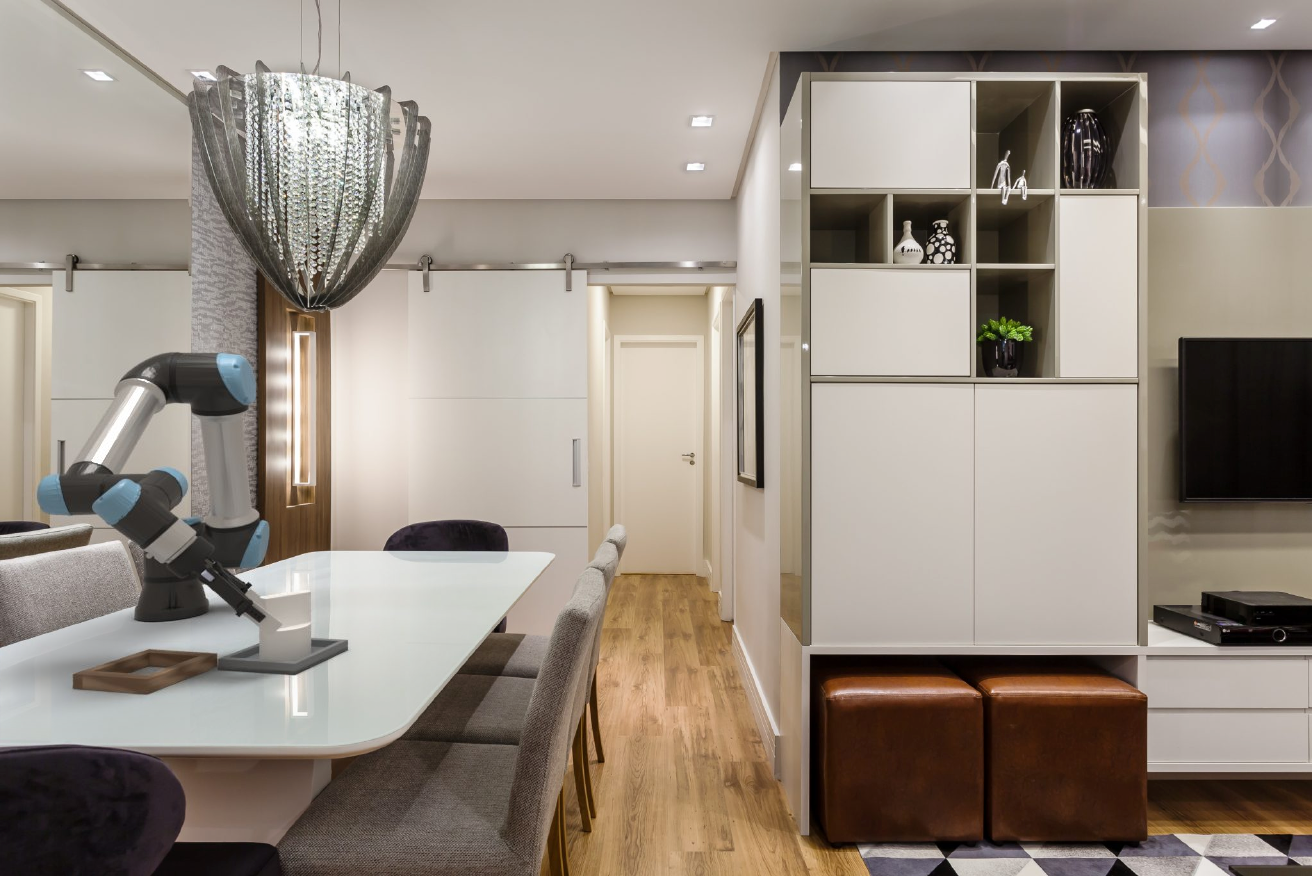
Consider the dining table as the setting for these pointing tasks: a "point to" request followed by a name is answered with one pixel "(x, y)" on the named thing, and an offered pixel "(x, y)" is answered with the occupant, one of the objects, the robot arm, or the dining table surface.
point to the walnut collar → (120, 679)
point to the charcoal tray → (252, 663)
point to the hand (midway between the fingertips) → (274, 621)
